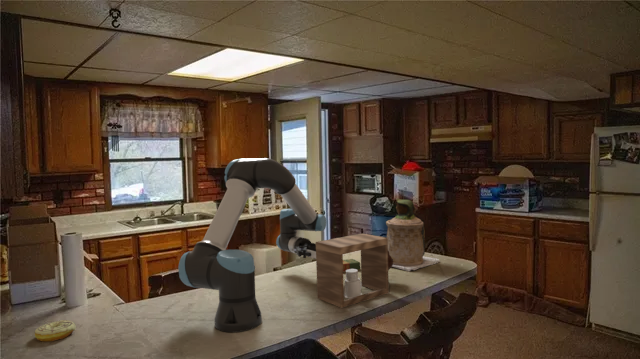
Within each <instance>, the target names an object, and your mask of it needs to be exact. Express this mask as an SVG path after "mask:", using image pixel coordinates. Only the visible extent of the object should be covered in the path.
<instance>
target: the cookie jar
mask: <svg viewBox="0 0 640 359" xmlns="http://www.w3.org/2000/svg"><path fill="white" fill-rule="evenodd" d="M395 200H396V207H395V209H396V212H397V215H395V217H393V218H391V219H388V220H387V221H385V224H386V227H387V231H386V238H388V251H389V255H390V256H391V258H392V259H393V265H392V267H391V268H395V269H399V270H403V271H406V272H411V271H416V270H419V269H422V268H426V267H429V266H431V265H435V264H438V263H439V262H440V259H439V258H435V257H429V256H426V255H425V252H426V250H425V246H426V244H425V236H426V235H425V232H426V231H425V227H424V225H425V223H424V221H422V220H421V219H420V218H418V217H417V216H416V213H415V212H417V211H418V209H419V207H418V205H417V204H416V203H413V201H412V200H410V199H400V198H398V197H397V198H395Z"/></svg>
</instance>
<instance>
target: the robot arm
mask: <svg viewBox="0 0 640 359" xmlns="http://www.w3.org/2000/svg"><path fill="white" fill-rule="evenodd" d="M224 169H225V170H224V174H225V175H224V176H223V177H224V183H225V187H226V191H225V193H224V196H223V197H222V199H221V202H220V203H219V206H218V208H217V210H216V212H215V213H214V216H213V218H212V220H211V222H210V224H209V226H208V228H207V231H206V233H205V235H204V237H203V238H202V240H201V241H197V242H196V244H195V245H194V247H193V249H192V250H191V251H187V252H184V253H183V254H182V256H181V257H180V259H179V261H178V262H179V263H178V267H177V268H178V270H177V271H178V275H179V276H178V277H179V279H180V281H181V282H182V283H183V284H184V285H186V286H187V287H191V288H195V289H206V290H213V291H214V290H215V291H218V298H219V301H218V304H217V305H218V306H217V308H216V312H215V316H214V328H216V330H218V331H221V332H226V333H238V332H245V331H249V330H252V329H255V328H257V327H258V326H260V325H261V323H262V322H263V318H262V316H263V315H262V312H261V309H260V307H259V304H258V301H257V299H256V297H257V296H256V276H255V275H256V272H255V271H256V265H255V261H254V256H253V254H251V253H250V252H249V251H246V250H243V249H242V250H241V249H227V247H228V245H229V242H230V240H231V238H232V236H233V234H234V231H235V230H236V227H237V225H238V222H239V220H240V217H241V216H242V213H243V211H244V209H245V207H246V204H247V201H248V199H249V198H250V199H251V198H253V197H254V196H255V193H256V192H257V189H270V190H273V192H274V193H275V194H277V195H279V196H281V198H282V199H283V200H284V201H285V202H286V204H287V205H288V206H289V208H284V209H281V210H280V212H279V231H280V232H279V235H278V236H277V237H276V241H275V244H276V246H277V248H278V249H280V250H282V251H284V252H289V253H293V254H295V255H297V256H298V257H299V258H301V257H303V259H306V258H312V259H315V260H316V242H315V243H314V242H312V241H311V240H310V239H309V238H306V237H302V236H297V231H309V232H323V231H325V230H326V228H327V227H326V226H327V217H326V216H325V215H324V214H320V213H317V212H316V210H315V209H314V207H313V206H312V205H311V203H310V202H309V201H308V199H307V198H306V196H305V195H304V194H303V192H302V191H301V189H300V188H299V186H298V185H297V184H296V177H294V175H293V174H292V172H291V171H290V170H289V169H288V168H287V167H286V166H284V165H283V164H281V163H280V162H279V161H278V160H275V159H272V158H267V157H264V158H263V157H262V158H261V157H260V158H237V159H233V160H231V161H230V162H229V163H227V166H226V167H225V168H224Z"/></svg>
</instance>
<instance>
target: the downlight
mask: <svg viewBox="0 0 640 359" xmlns="http://www.w3.org/2000/svg"><path fill="white" fill-rule="evenodd" d="M362 287H363V286H362V282H361V278H360V277H359V270H357V269H348V270H346V272H345V279H344V298H346V299H350V298H353V297H357V296H360V295H363V293H362Z"/></svg>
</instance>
